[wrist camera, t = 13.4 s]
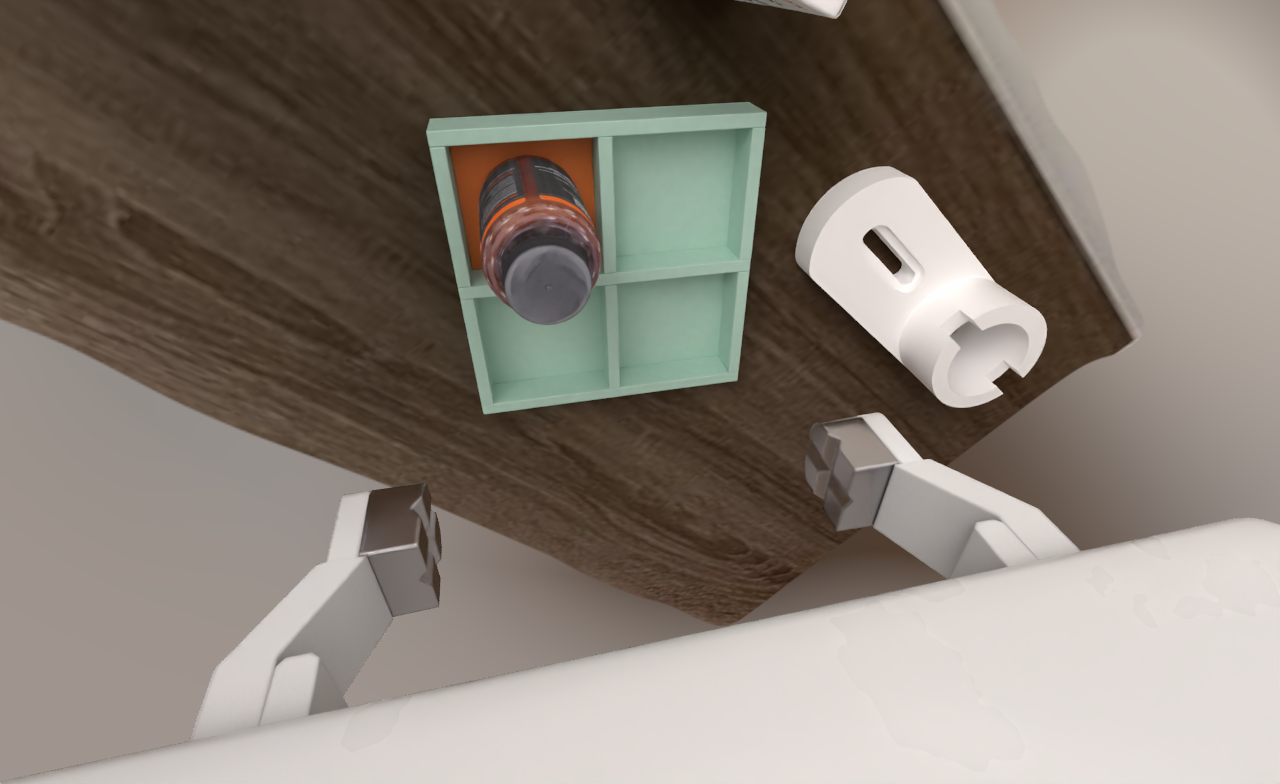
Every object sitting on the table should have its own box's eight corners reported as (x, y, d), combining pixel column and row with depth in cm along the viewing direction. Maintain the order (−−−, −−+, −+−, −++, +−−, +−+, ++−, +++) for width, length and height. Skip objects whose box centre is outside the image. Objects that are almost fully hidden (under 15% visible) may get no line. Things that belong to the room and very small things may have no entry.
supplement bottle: (467, 234, 36) (464, 327, 28) (493, 136, 34) (498, 204, 25) (562, 262, 39) (587, 355, 30) (593, 172, 36) (631, 246, 27)
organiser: (429, 118, 33) (425, 131, 31) (749, 101, 36) (767, 112, 34) (483, 390, 44) (483, 415, 42) (725, 360, 47) (737, 381, 45)
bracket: (1002, 303, 50) (1064, 345, 44) (916, 376, 52) (965, 424, 47) (874, 141, 39) (935, 172, 34) (776, 244, 42) (819, 287, 37)
